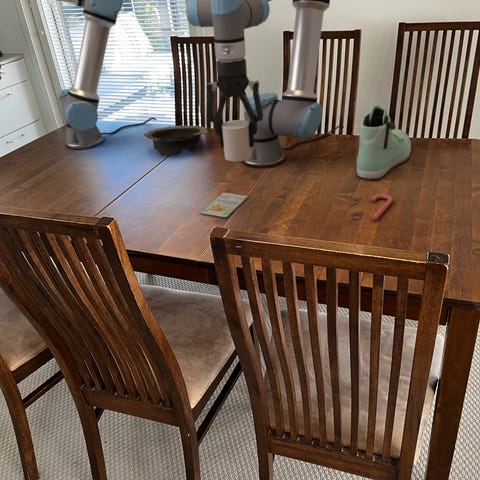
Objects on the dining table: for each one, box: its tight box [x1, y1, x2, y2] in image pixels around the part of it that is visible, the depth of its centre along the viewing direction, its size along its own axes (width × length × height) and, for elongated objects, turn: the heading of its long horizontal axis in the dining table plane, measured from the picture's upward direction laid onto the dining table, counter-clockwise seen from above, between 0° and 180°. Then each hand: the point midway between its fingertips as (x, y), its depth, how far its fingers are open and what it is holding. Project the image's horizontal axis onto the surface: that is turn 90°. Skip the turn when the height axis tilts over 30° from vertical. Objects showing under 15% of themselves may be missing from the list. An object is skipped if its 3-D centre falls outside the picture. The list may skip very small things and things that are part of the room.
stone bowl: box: [143, 125, 208, 157], centre depth 189 cm, size 25×25×9 cm
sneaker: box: [356, 105, 412, 180], centre depth 161 cm, size 14×35×20 cm, turn 152°
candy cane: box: [371, 193, 394, 221], centre depth 137 cm, size 6×15×2 cm, turn 145°
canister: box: [222, 119, 252, 162], centre depth 132 cm, size 8×8×9 cm
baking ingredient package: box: [199, 191, 249, 218], centre depth 146 cm, size 9×1×15 cm
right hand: (237, 145), depth 132 cm, fingers closed on canister, 7 cm apart
